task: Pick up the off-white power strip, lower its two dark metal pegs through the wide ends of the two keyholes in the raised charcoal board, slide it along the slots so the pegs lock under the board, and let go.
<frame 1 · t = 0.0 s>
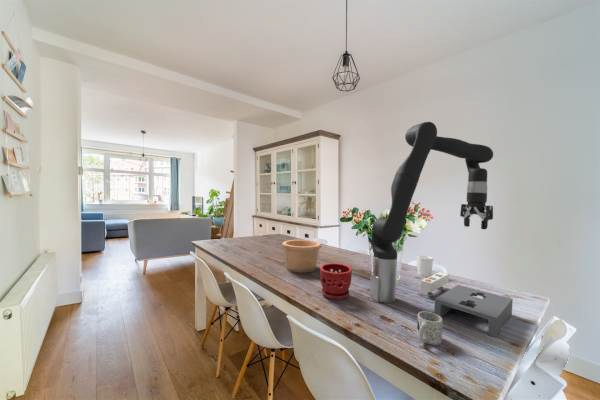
hand: (475, 227, 116), 29 cm above the table, tool pointing down, fingers open, 8 cm apart
pottery: (300, 268, 145), on the table
plant pot: (335, 296, 108), on the table
white cup: (424, 275, 140), on the table
power strip: (434, 292, 115), on the table
keyhole board: (473, 315, 94), on the table
mug: (426, 341, 76), on the table
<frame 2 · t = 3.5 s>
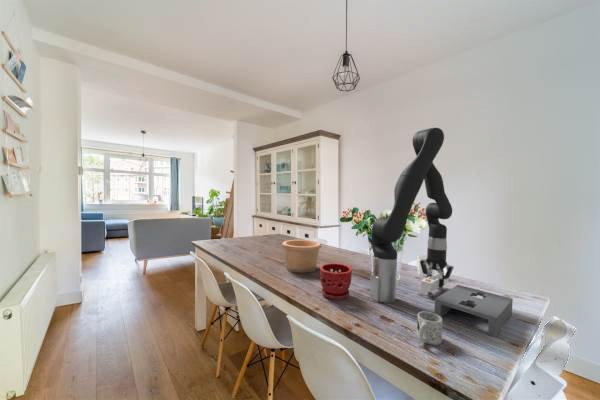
hand: (435, 285, 115), 3 cm above the table, tool pointing down, fingers closed on power strip, 4 cm apart
power strip: (434, 292, 115), on the table, touching gripper
everything else where it was.
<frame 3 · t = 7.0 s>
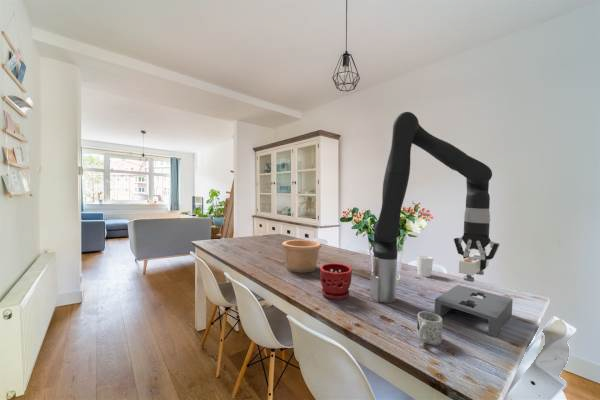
hand: (474, 268, 92), 17 cm above the table, tool pointing down, fingers closed on power strip, 4 cm apart
power strip: (474, 276, 92), point 14 cm above the table, touching gripper
everything else where it was.
when the fingers open (6 cm above the table, at t = 10.3 s): power strip stays where it is, resting on keyhole board.
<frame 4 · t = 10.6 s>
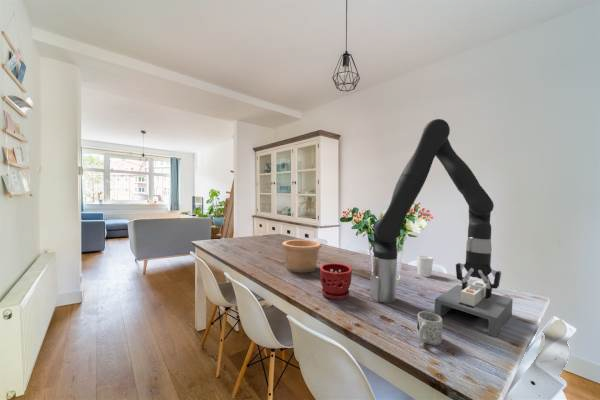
hand: (476, 295, 95), 7 cm above the table, tool pointing down, fingers open, 6 cm apart
power strip: (475, 304, 95), point 3 cm above the table, touching keyhole board
everything else where it was.
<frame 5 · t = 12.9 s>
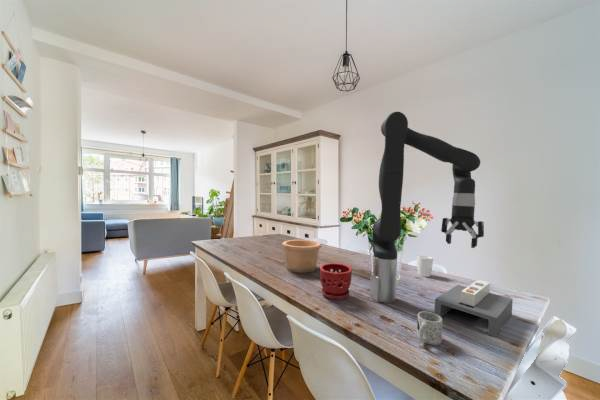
hand: (460, 245, 102), 24 cm above the table, tool pointing down, fingers open, 8 cm apart
nothing on the table moved.
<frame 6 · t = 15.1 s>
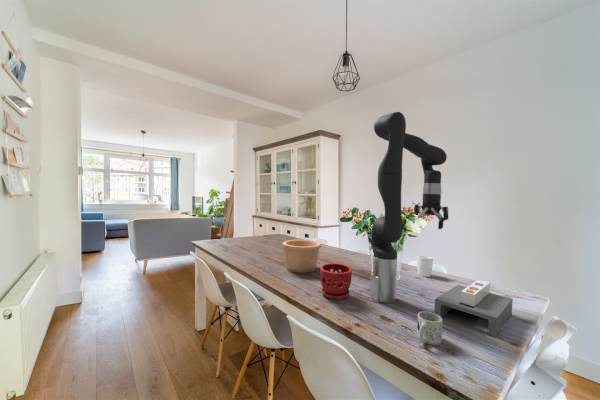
hand: (430, 228, 120), 28 cm above the table, tool pointing down, fingers open, 8 cm apart
nothing on the table moved.
at the end: power strip 0.1 cm from the target spot on the keyhole board, point 3.2 cm above the keyhole board's base; the gripper is holding nothing; power strip tilted 0° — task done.
